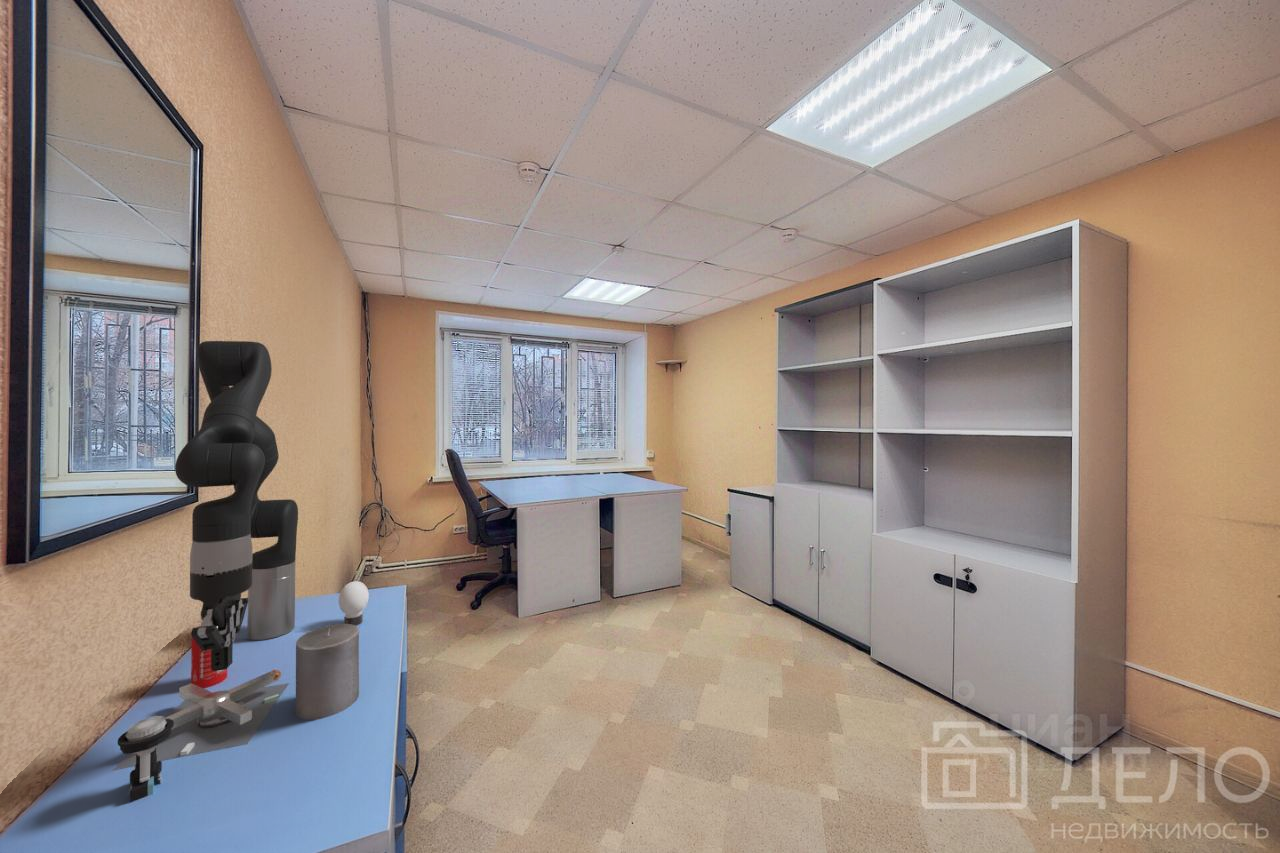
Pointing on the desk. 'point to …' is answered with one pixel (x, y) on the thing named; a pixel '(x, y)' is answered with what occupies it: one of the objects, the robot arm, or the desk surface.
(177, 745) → the stand
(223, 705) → the capstan
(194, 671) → the beverage can
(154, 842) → the desk surface
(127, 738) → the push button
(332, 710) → the pillar candle
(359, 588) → the light bulb
